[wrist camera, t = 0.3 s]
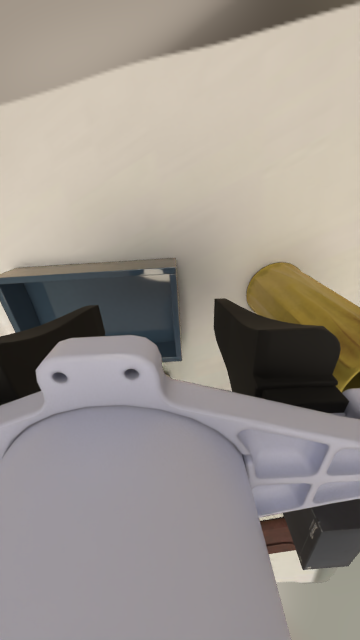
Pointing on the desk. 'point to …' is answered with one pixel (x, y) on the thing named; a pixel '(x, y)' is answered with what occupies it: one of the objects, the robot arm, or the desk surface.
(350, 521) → the small box
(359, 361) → the vase
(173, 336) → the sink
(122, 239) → the desk surface
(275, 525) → the notebook
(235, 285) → the desk surface
